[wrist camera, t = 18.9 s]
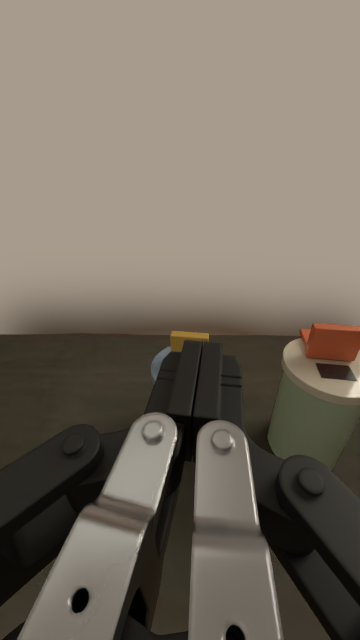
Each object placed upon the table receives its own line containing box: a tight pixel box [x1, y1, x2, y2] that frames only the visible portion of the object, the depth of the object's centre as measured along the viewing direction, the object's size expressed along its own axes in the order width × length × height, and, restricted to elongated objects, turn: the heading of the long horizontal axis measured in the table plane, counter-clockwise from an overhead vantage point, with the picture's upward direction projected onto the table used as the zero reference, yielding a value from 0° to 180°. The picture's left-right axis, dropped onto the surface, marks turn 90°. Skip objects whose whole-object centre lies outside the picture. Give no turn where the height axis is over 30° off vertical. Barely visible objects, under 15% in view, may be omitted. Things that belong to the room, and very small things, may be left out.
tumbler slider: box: [170, 331, 209, 352], centre depth 29 cm, size 4×4×4 cm
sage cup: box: [267, 338, 360, 470], centre depth 28 cm, size 9×9×13 cm
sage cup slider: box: [300, 323, 360, 361], centre depth 26 cm, size 4×5×4 cm
